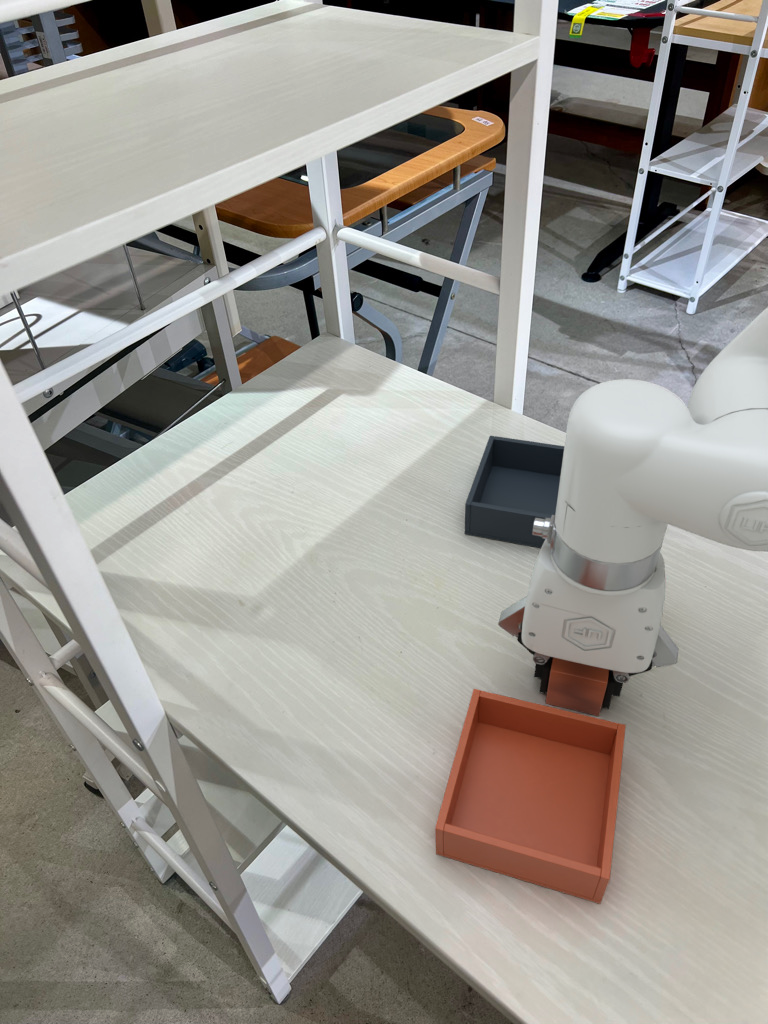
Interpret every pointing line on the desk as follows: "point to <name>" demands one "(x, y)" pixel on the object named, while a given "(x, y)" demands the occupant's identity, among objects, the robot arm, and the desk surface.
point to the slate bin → (513, 490)
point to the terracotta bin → (534, 795)
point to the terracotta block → (577, 686)
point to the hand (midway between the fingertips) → (576, 685)
